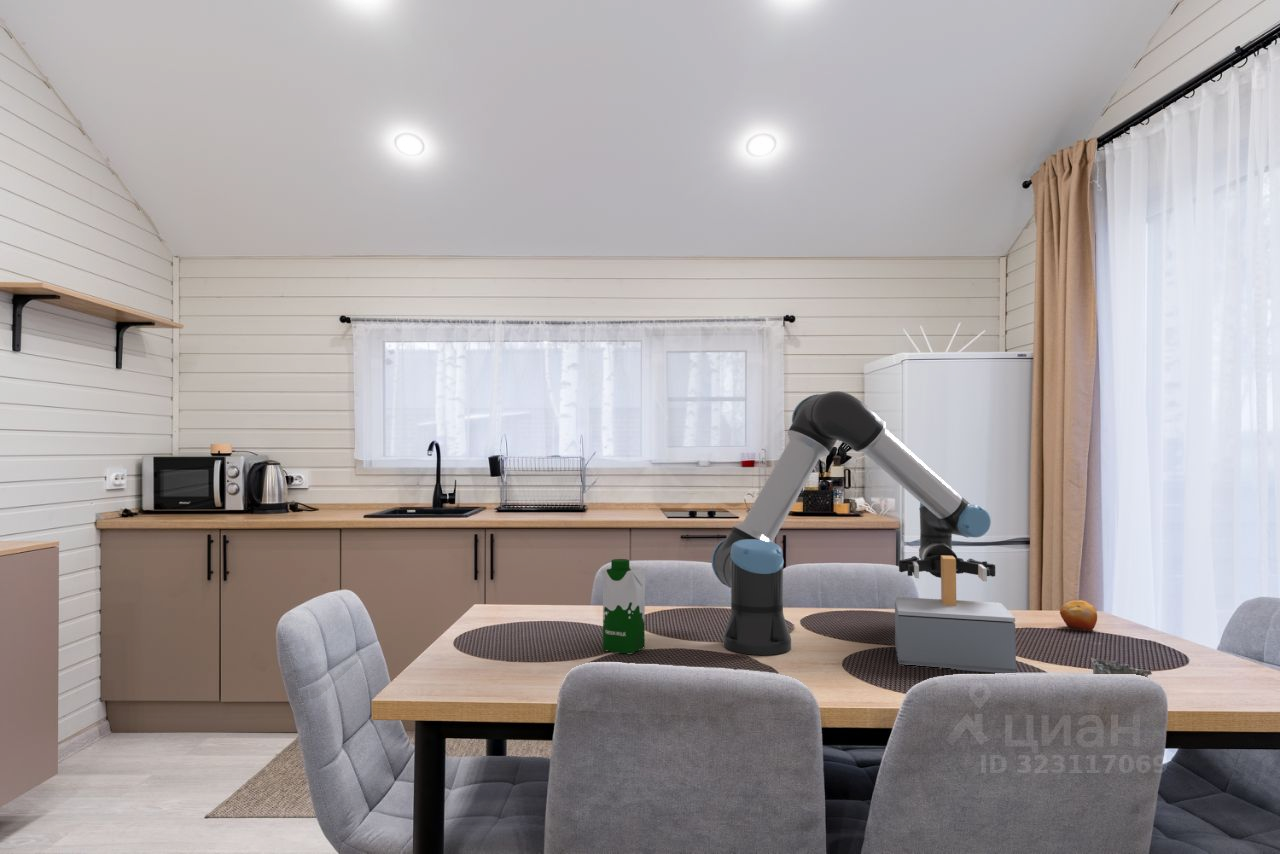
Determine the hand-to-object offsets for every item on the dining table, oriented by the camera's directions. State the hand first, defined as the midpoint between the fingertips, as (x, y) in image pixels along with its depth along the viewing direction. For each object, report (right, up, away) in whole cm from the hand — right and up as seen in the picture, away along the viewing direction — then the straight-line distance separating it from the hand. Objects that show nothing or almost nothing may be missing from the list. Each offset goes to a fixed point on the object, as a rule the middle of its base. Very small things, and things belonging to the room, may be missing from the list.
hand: (950, 573), depth 160 cm
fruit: (+43, -19, +26) cm, 54 cm away
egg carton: (+25, -18, -18) cm, 36 cm away
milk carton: (-71, -18, +5) cm, 73 cm away
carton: (-1, -18, -2) cm, 18 cm away
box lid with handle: (-1, -7, -2) cm, 7 cm away
